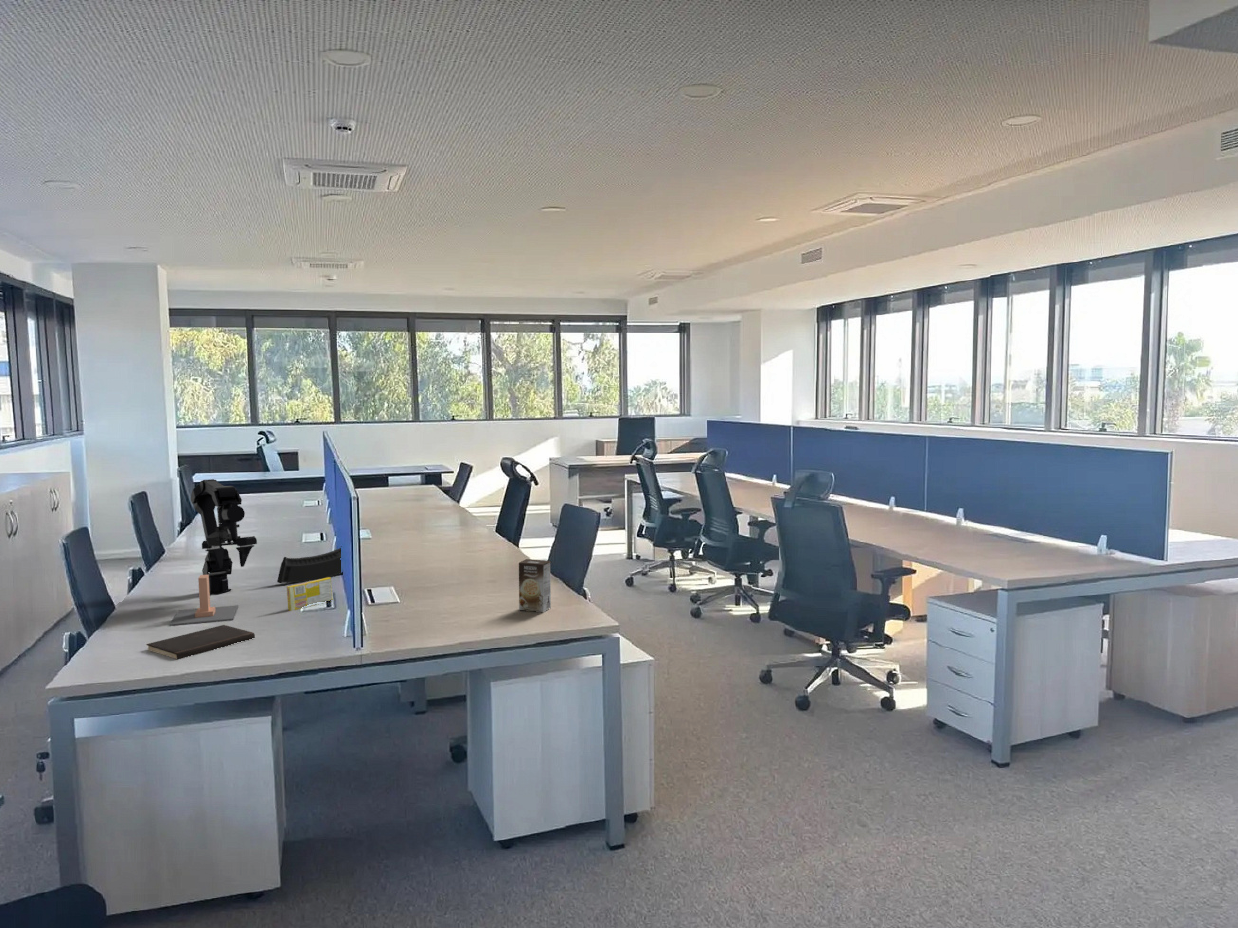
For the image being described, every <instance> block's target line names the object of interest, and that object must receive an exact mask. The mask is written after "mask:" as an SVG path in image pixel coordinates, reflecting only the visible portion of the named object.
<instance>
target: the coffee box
mask: <svg viewBox="0 0 1238 928" xmlns="http://www.w3.org/2000/svg"><path fill="white" fill-rule="evenodd" d="M551 581H552V580H551V561H550V560H542V559H531V558H530V559H529V558H526V559H524V560H521V561H519V562H518V611H520V610H526V611H525V612H530V611H536V612H535V613H541V612H544V613H546V612H547V611H548V609H549V608H550V609H552V606H551V605H552V604H551V603H552V602H551V593H552V592H551V587H552V586H551V585H552V584H551ZM550 609H549V610H550ZM546 610H547V611H546Z"/></svg>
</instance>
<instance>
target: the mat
mask: <svg viewBox="0 0 1238 928" xmlns="http://www.w3.org/2000/svg"><path fill="white" fill-rule="evenodd" d="M214 607H215V610H216V611H215V613H214V615H213V616H208V617H197V618H195V612H196V610H197V609H198V608H192V609H179V610H178V611H177V613H176V614H175V616H174V617H173V619H172V620H171V622H170V623H169V626H170V627H171V626H172V627H173V626H174V627H175V626H183V625H184V626H185V625H193V624H194V625H195V624H206V623H216V621H218V622H226V621H227V620H229V621H234V620H233V619H235V616H236V614H237V611H238V609H239V605H238V604H236V605H235V604H234V605H227V606H225V605H224V606H214ZM227 622H228V621H227Z"/></svg>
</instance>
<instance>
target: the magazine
mask: <svg viewBox="0 0 1238 928" xmlns="http://www.w3.org/2000/svg"><path fill="white" fill-rule="evenodd" d="M340 558H341V547H339V548H336V549H335V550H331V551H329V552H326V553H322V554H317V555H314V556H305V557H304V556H303V557H295V558H294V557H287V556H284V557H283V558H282V562H281V563H280V568H279V572H278V576H277V580H276V581H277V583H278V584H284V583H285V584H286V583H288V584H289V583H306V582H310V581H315V580H319V579H323V578H328V577H329V578H332V577H334V576H337V575H341V574H342V573H341V560H340Z"/></svg>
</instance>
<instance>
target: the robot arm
mask: <svg viewBox="0 0 1238 928" xmlns="http://www.w3.org/2000/svg"><path fill="white" fill-rule="evenodd" d="M190 501H191V504H192V505H193V509H194V510H195V511H196V512H197V513H198V514H199V515H200V518H201V524H202V527H203V532H204V537H205V538H204V539H205V540H203V541H202V543H201V549H202V550H205V552H207V553H206V556H205V558H204V563H203V565H202V566H203V568H202V570H201V571H202V575H209V592H210V595H211V594H212V595H213V594H214V595H219V594H224V593H226V592H230V591H232V589H231V588H229V579H228V575H232V572H233V560H232V558H231V557H230V556H229V555H230V554H229V550H228V549H227V548H224V547H223V546H235V545H236V546H237V547H235V549H236V550H237V551H238V557H239V565H240V567H241V568H244V567H245V564H246V562H247V560H248V558H249V554H250V552H251V550H252V548H254V547H255V545H257V544H258V539H257V538H256V536H255V535H253V536H242V537H241V535H239V534H238V528H240V524H237V523H239V522H241V521H242V520H244V517H245V513H246V512H245V510H244V509H243V507H242V506H240V505H242V501H243V500H242V497H241V495H240V493H239V492H238V490H237V488H236V487H235V486H233V485H223V484H222V483H220V482H218V481H217V479H213V478H212V479H211V478H210V479H202V480H200V482H199V484H198V485H197V486H195V487H193V488H192V491H191V493H190ZM215 508H216V511H217V519H216V515H215ZM217 521H218V522H217Z"/></svg>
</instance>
